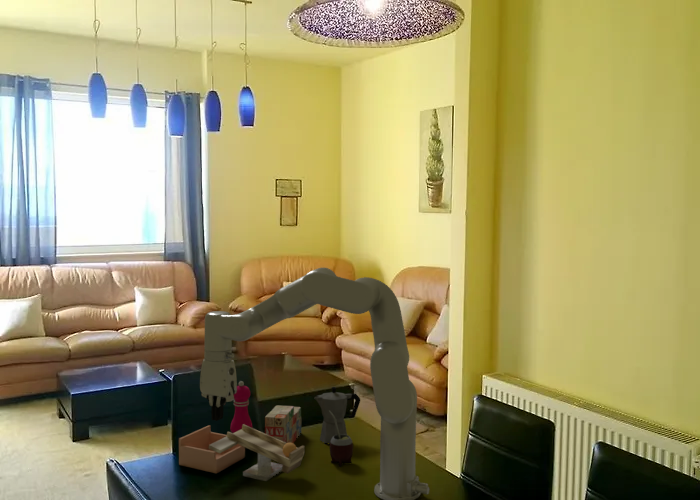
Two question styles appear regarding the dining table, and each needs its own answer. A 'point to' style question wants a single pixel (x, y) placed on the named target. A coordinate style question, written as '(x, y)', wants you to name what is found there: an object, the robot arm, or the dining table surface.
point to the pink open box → (207, 451)
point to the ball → (288, 448)
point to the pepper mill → (241, 408)
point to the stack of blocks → (284, 423)
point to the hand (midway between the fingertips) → (217, 419)
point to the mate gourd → (340, 447)
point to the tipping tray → (260, 446)
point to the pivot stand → (263, 469)
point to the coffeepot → (335, 412)
